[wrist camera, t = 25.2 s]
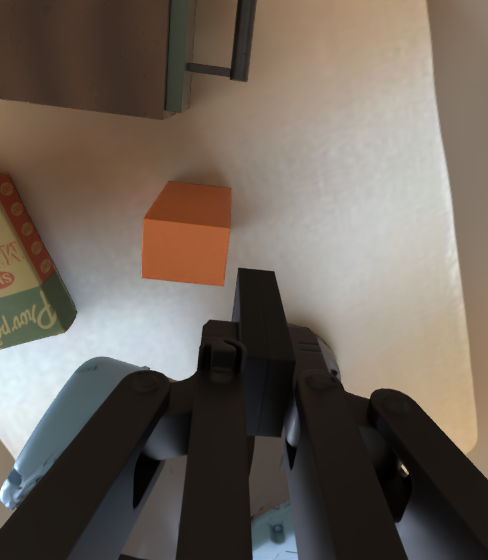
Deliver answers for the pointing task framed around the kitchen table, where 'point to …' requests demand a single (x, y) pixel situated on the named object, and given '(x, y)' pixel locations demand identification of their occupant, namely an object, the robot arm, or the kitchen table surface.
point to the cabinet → (86, 54)
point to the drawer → (183, 51)
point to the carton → (27, 278)
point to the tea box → (187, 234)
